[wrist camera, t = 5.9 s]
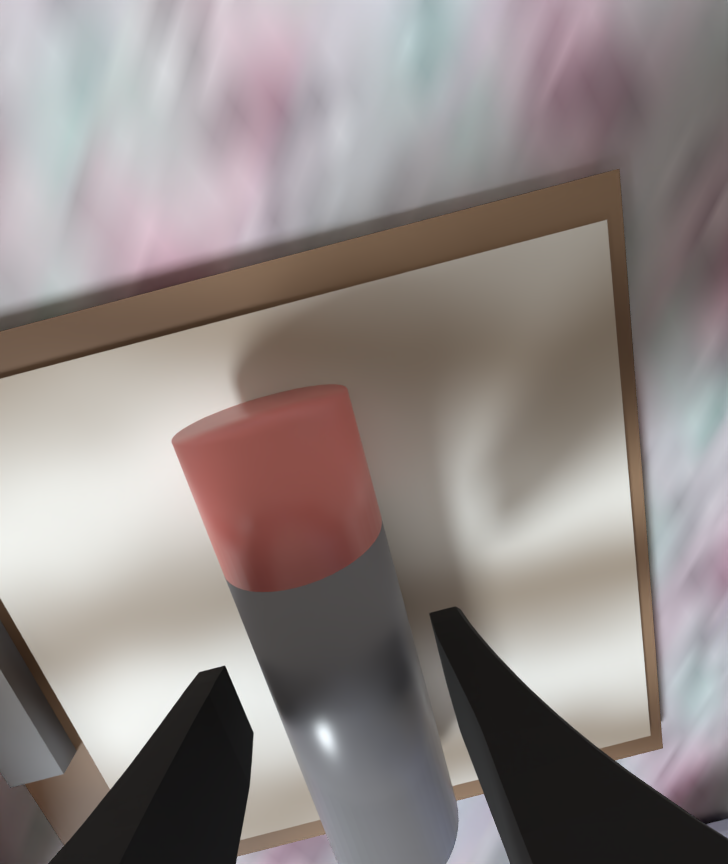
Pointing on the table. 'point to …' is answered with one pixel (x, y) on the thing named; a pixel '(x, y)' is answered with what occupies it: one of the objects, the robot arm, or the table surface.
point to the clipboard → (390, 473)
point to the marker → (326, 617)
